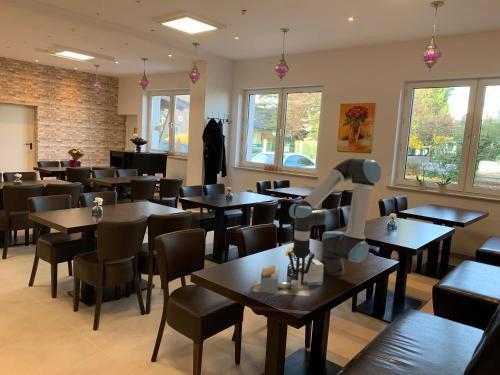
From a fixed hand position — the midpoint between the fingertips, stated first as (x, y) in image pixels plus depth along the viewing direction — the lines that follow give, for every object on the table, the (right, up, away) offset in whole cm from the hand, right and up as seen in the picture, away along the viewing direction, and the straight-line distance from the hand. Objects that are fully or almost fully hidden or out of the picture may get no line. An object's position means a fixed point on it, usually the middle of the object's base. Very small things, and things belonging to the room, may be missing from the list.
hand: (299, 286), depth 179 cm
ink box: (+8, -2, +12) cm, 14 cm away
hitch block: (-14, -1, +2) cm, 14 cm away
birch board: (-9, -2, +1) cm, 9 cm away
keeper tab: (-15, +7, +1) cm, 16 cm away
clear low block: (-8, -1, +1) cm, 8 cm away
